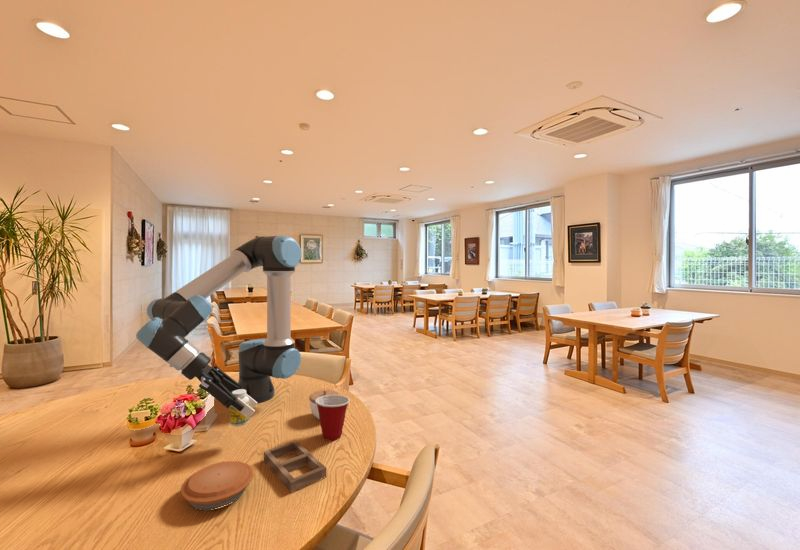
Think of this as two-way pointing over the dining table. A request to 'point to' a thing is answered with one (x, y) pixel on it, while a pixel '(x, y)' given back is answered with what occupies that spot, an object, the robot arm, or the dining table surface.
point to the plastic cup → (332, 415)
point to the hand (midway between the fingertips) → (252, 410)
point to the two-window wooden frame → (294, 465)
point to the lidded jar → (315, 395)
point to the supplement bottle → (235, 415)
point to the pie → (217, 484)
